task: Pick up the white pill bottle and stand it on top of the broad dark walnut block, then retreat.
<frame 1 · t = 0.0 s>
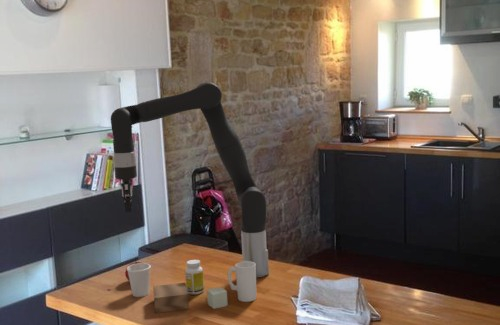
hand: (128, 209, 202), 29 cm above the table, fingers open, 8 cm apart
mug: (242, 298, 192), on the table
pill bottle: (195, 292, 200), on the table
sage block: (217, 304, 188), on the table
dixie cup: (140, 294, 201), on the table
walnut block: (171, 304, 190), on the table
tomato: (137, 282, 213), on the table
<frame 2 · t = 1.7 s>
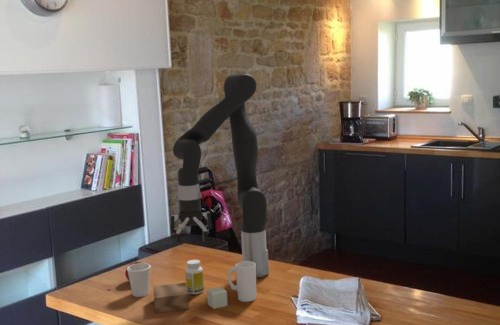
hand: (192, 242, 198), 18 cm above the table, fingers open, 8 cm apart
nothing on the table moved.
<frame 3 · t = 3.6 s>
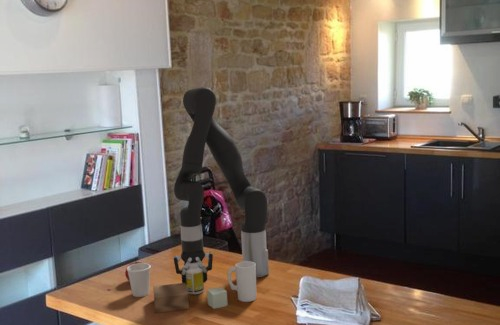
hand: (194, 282, 200), 3 cm above the table, fingers closed on pill bottle, 6 cm apart
pill bottle: (195, 292, 200), on the table, touching gripper
everything else where it was.
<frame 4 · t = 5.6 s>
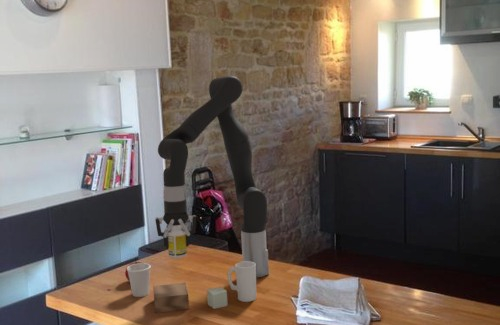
hand: (177, 246, 192), 18 cm above the table, fingers closed on pill bottle, 6 cm apart
pill bottle: (177, 256, 192), point 15 cm above the table, touching gripper
everything else where it was.
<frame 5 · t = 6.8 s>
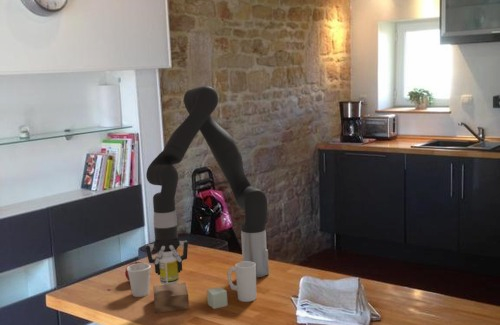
hand: (168, 272, 188), 11 cm above the table, fingers closed on pill bottle, 6 cm apart
pill bottle: (169, 282, 189), point 8 cm above the table, touching gripper
everything else where it was.
when the fingers open (9 cm above the table, at t = 7.9 s): pill bottle stays where it is, resting on walnut block.
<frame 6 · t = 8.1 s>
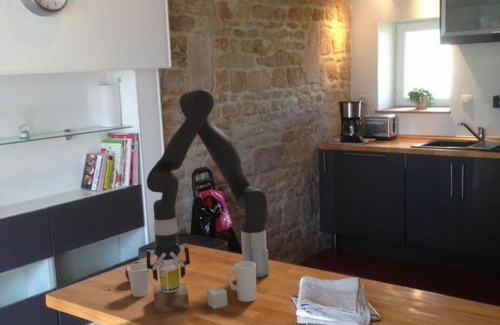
hand: (169, 278, 188), 9 cm above the table, fingers open, 8 cm apart
pill bottle: (170, 290, 189), point 5 cm above the table, touching walnut block
everything else where it was.
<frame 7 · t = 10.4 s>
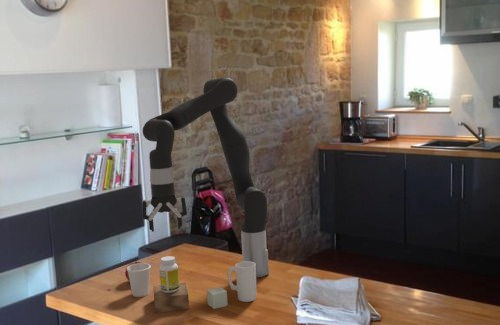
hand: (165, 229, 186), 26 cm above the table, fingers open, 8 cm apart
nothing on the table moved.
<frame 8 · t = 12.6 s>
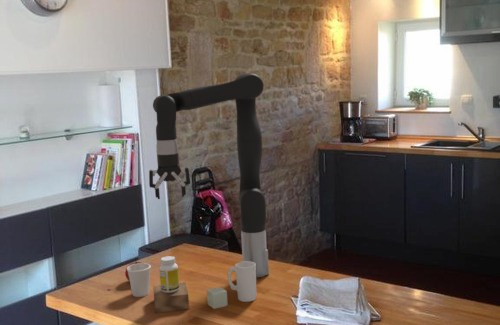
hand: (170, 197, 201), 33 cm above the table, fingers open, 8 cm apart
nothing on the table moved.
at the end: pill bottle inside the target area on the walnut block (0.1 cm from its centre), point 4.8 cm above the walnut block's base; pill bottle tilted 0°; the gripper is holding nothing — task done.
